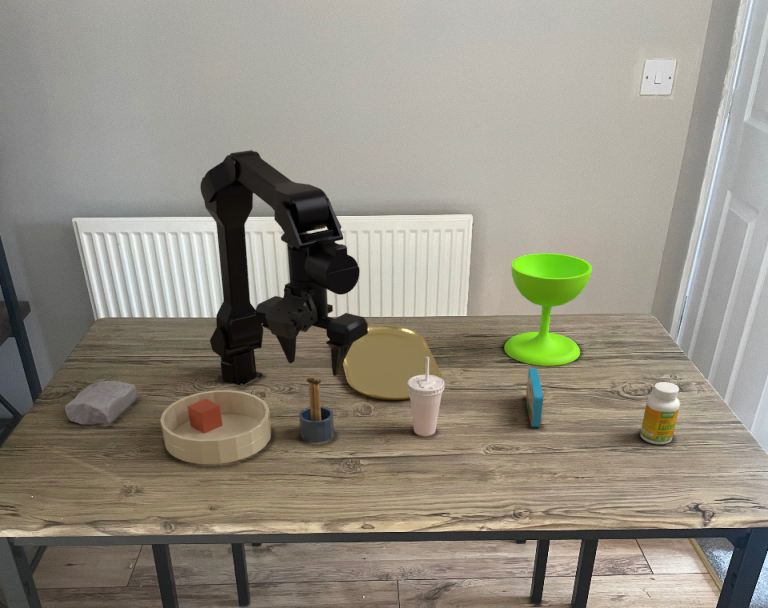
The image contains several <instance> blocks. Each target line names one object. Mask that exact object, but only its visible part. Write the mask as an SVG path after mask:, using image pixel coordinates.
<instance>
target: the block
mask: <svg viewBox="0 0 768 608" xmlns="http://www.w3.org/2000/svg"><path fill="white" fill-rule="evenodd" d="M188 412H189V418H190V424H191V427H193V428H195V429H197V430H199V431H201V432H202V433H204V434H205V433H207V432H209V431H211V430H213V429H216V428H218V427H220V426H222V419H221V411H220V405H218V404H216V403H214V402H212V401H210V400H208V399H204V400H201V401H199V402H197V403H194V404H192V405H189V406H188Z"/></svg>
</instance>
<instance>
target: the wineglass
mask: <svg viewBox="0 0 768 608" xmlns="http://www.w3.org/2000/svg"><path fill="white" fill-rule="evenodd" d="M592 273H593V265H592V264H591V263H590V262H589V261H587V260H585V259H583V258H580V257H577V256H573V255H569V254H562V253H551V252H539V253H538V252H537V253H530V254H525V255H521V256H518V257H516V258H514V259H513V260H512V261H511V277H512V280H513V283H514V287H516V289H517V291H518V292H519V293H520V295H521V296H522V297H523V298H525V299H526V300H527V301H529V302H530V303H531V304H533V305H537V306H540V307H541V314H540V316H541V317H540V323H539V331H527V332H521V333H519V334H516V335H513V336H512V337H510V338H509V339H507V341H506V342H505V344H504V347H503V350H504V352H505V354H506V355H508V356H509V357H510V358H511V359H514V360H515V361H517V362H521V363H524V364H529V365H534V366H544V367H548V366H549V367H551V366H561V365H562V366H563V365H567V364H570V363H572V362H574V361H576V360H577V359H579V357H580V355H581V349H580V347H579V346H578V344H577V343H576V342H575V341H574V340H573V339H571V338H569V337H568V336H565V335H562V334H558V333H554V332H549V331H550V323H551V315H552V308H553V307H560V306H563V305H565V304H568V303H569V302H572V301H574V300H575V299H576V298H577V297H579V295H580V294H581V293H582V292H583V291H584V290H585V288H586V286H587V285H588V283H589V281H590V280H591V276H592Z"/></svg>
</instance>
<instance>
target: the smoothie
mask: <svg viewBox="0 0 768 608" xmlns="http://www.w3.org/2000/svg"><path fill="white" fill-rule="evenodd" d="M407 389H408V390H409V392H410V399H409V400H410V409H411V417H412V425H413V432H414V433H415V434H416V435H418V436H421V437H422V436H423V437H428V436H432V435H434V434H435V433H436V430H437V424H438V417H439V412H440V407H441V401H442V396H443V392H444V390H445V381H444V379H442V378H439V377H437V376H433V375H429V357H426V373H425V375H417V376H414V377H412V378H410V379H409V380H408V386H407Z"/></svg>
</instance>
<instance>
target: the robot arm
mask: <svg viewBox="0 0 768 608" xmlns="http://www.w3.org/2000/svg"><path fill="white" fill-rule="evenodd" d="M200 192H201V193H200V194H201V197H202V198H203V202H204V207H205V209H206V211H207V212H208V213H209V214H210V216H211V217H212V219H213V221H214V222H215V225H216V234H217V244H218V245H217V246H218V255H219V256H218V257H219V265H220V266H219V267H220V277H221V287H222V297H223V300H222V303H221V305H220V307H219V308H218V311H217V313H216V315H215V317H216V318H215V320H216V328H215V329H214V331H213V333H212V335H211V337H210V338H209V343H210V346H211V350H212V352H213V353H215V354H216V355H218V356H219V357H220V369H221V375H220V376H218V377H217V379H218V380H221V381H223V382H225V383H229V384H232V385H236V386H241V387H242V386H245V385H246V384H248V383H250V382H251V381H254V380H255V379H257V378H258V379H260V378H262V377H263V373H262V372H260V371H257V365H256V357H255V350H256V349H262V347H263V336H264V329H267V330H268V331H270V332H271V334H272V335H274V336H275V337H276V339H277V340H278V341H277V342H278V343H279V345H280V347H281V350H282V351H283V353H284V356H285V358H286V360H287V362H288V364H293V363H295V361H296V353H297V350H296V349H297V337H298V336H299V333H300V332H303V333H307V332H308V330H310V328H311V327H315V328H319V329H324V330H326V331H325V332H326V337H327V338H328V340H327V341H325V344H326V345H327V347H329V348H330V359H331V371H332V376H333V377H336V376H338V375H339V374H340V372H341V370H342V368H343V363H344V360H345V358H346V356H347V353H348V351H349V349H350V347H351V346H352V344H353V342H355V341H356V340H358V339H360V338H361V337H363V336H365V335H366V334H368V326H369V323H368V320H367V319H366V318H365V317H364V316H361V315H356V314H353V313H348V312H345V313H343V314H341V315H339V316H338V317H335V318H334V317H330V316H329V314H330V313H333V312H334V306H333V304H329V302H328V291H329V292H331V293H334V294H336V295H338V296H339V295H346V294H348V293H349V292H351V291H352V290H353V289H354V288H355V287H356V285H357V283H358V282H359V279H360V273H361V271H360V266H359V264H358V262H357V260H356V259H355V258H354V257H353V256H352V255H349V254H348V246H347V245H345V244H343V243H337V242H338V241H343V240H344V235H343V232H342V230H341V229H342V225H341V223H340V221H339V219H338V217H337V214H336V212H335V211H334V208H333V206H332V203H331V201H330V199H329V197H328V195H327V193H326V192H325V191H324V190H323V189H321V188H319V187H317V186H314V185H312V184H308V183H302V182H295V181H293V180H291V179H290V178H289V177H287V176H285V174H283V173H281V171H279V170H277V169H276V168H275V167H274V166H272V165H271V164H270V163H268V162H267V161H266V160H264V159H263V158H262V157H261V155H260V153H259V152H258V151H256V150H255V151H254V150H252V149H250V150H241V151H236V152H230V153H229V154H227V155H226V156H225V157H224V159H223V160H222V161H221V162H220V163H218V164H216V165H215V166H213V167H212V168H211V169H209V170H207V172H206V173H205V175H204V176H203V177H202V178H201V182H200ZM254 195H255V196H257V197H258V198H259V199H261V200H262V201H263V202H264V203H266V205H268V206H269V207H270V208H271V209H272V210H273V211H274V213H273V214H274V217H273V218H274V221H275V222H276V223H277V224H278V225H279V227H280V228H281V230H282V232H283V234H281V236H280V241H282V242H283V243H285V244H286V249H287V261H288V262H287V263H288V277H289V278H288V279H289V282H287V283H284V287H283V297H282V296H278V295H274V296H272V297H270V298H267V299H266V300H264V301H261V302H260V303H257V305H256V308H255V307H254V306H253V304H252V303H251V293H250V281H249V269H248V267H249V265H248V253H247V239H246V222H247V221H248V219H249V217H250V215H251V213H252V210H253V207H254ZM325 228H326V229H325ZM322 229H324V230H322ZM317 230H319V231H317ZM313 231H314V232H313Z"/></svg>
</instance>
